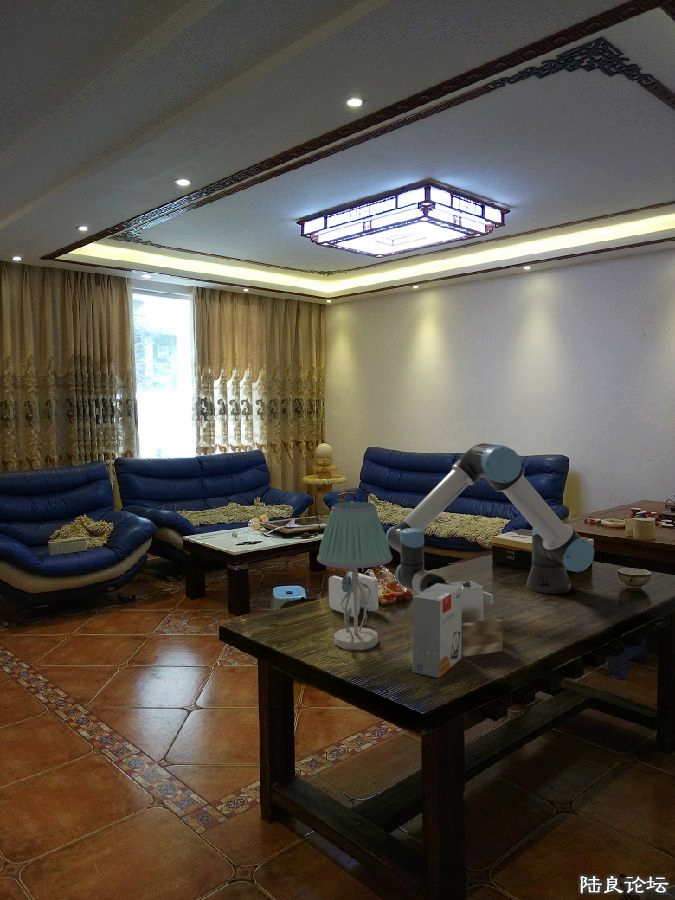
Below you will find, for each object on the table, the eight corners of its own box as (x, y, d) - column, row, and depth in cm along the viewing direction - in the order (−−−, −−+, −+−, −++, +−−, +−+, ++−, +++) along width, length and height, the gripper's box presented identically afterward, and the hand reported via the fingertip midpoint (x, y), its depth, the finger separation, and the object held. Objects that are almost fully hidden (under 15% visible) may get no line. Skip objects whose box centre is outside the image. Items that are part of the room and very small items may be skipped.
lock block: (470, 626, 193) (470, 577, 192) (483, 634, 187) (483, 583, 186) (449, 630, 191) (449, 580, 190) (461, 638, 184) (461, 586, 183)
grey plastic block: (327, 608, 221) (326, 574, 220) (351, 602, 227) (350, 569, 226) (355, 620, 209) (355, 584, 208) (380, 612, 215) (379, 578, 214)
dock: (471, 629, 198) (471, 601, 198) (502, 651, 181) (502, 620, 180) (434, 634, 195) (434, 606, 194) (463, 656, 178) (463, 626, 177)
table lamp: (342, 624, 205) (340, 497, 202) (405, 636, 194) (404, 502, 191) (304, 647, 186) (300, 508, 183) (371, 662, 175) (369, 514, 172)
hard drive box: (439, 679, 164) (439, 601, 162) (411, 673, 168) (410, 597, 166) (462, 658, 177) (462, 585, 175) (436, 652, 181) (435, 581, 179)
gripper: (462, 590, 210) (507, 609, 191) (395, 603, 199) (436, 623, 180) (461, 567, 209) (507, 584, 190) (395, 578, 198) (436, 597, 179)
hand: (472, 603), depth 185 cm, fingers open, 13 cm apart
